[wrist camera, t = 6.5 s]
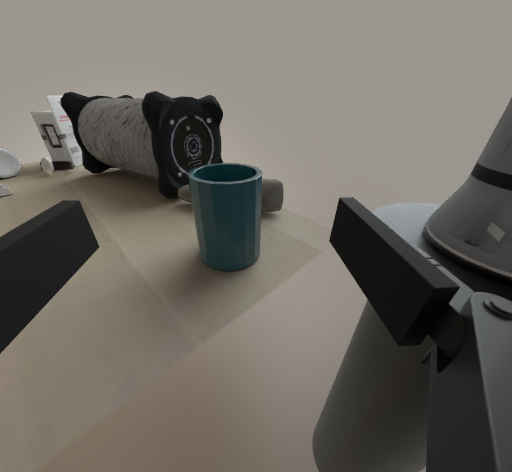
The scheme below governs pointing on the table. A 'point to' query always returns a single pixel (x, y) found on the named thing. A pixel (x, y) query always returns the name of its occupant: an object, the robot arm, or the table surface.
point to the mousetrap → (4, 190)
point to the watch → (54, 165)
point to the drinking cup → (227, 214)
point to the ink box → (58, 133)
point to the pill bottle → (8, 164)
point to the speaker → (147, 135)
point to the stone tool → (269, 195)
